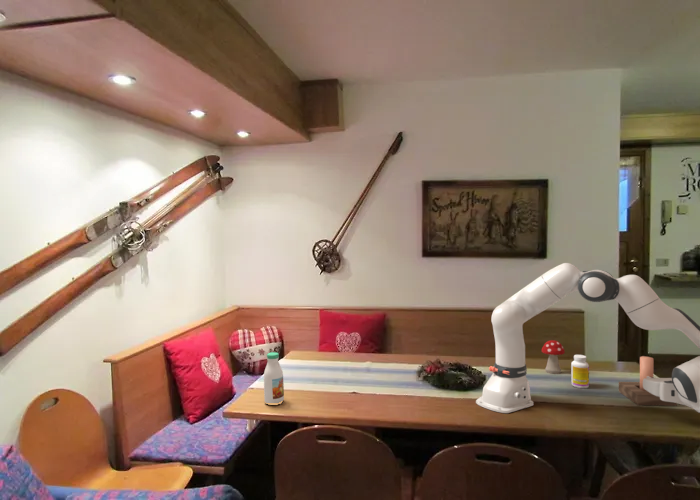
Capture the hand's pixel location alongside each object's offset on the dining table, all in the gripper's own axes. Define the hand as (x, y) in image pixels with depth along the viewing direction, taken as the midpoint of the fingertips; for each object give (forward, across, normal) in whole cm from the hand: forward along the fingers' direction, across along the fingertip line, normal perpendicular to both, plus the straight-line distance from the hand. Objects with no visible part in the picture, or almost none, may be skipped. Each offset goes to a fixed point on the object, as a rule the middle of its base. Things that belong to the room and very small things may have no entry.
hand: (661, 378), depth 164 cm
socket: (+9, 0, +11) cm, 14 cm away
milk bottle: (+6, +147, +10) cm, 147 cm away
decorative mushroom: (+40, +23, +11) cm, 48 cm away
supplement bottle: (+22, +19, +11) cm, 32 cm away
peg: (+9, 0, +11) cm, 14 cm away
